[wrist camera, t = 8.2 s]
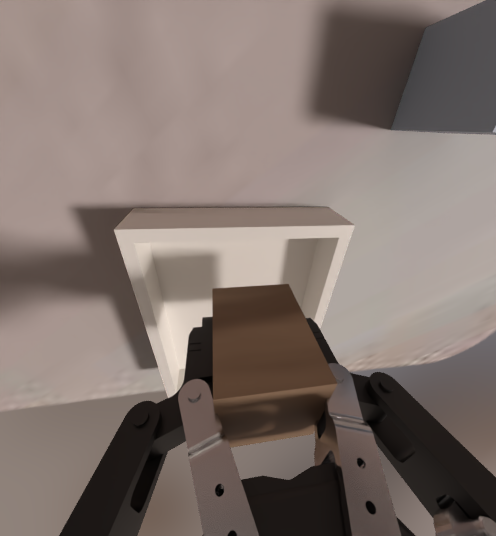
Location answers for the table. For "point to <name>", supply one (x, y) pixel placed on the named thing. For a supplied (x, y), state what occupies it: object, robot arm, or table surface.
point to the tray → (224, 265)
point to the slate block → (453, 76)
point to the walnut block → (266, 365)
